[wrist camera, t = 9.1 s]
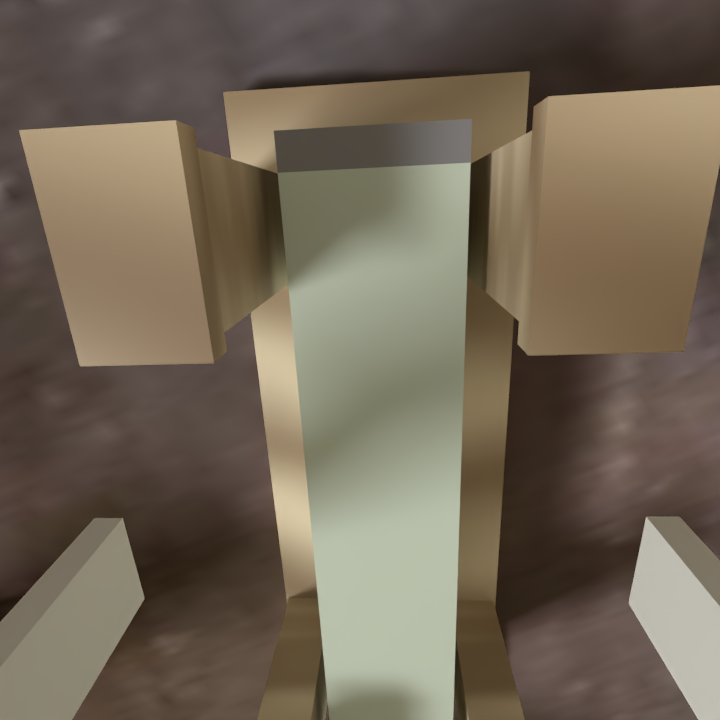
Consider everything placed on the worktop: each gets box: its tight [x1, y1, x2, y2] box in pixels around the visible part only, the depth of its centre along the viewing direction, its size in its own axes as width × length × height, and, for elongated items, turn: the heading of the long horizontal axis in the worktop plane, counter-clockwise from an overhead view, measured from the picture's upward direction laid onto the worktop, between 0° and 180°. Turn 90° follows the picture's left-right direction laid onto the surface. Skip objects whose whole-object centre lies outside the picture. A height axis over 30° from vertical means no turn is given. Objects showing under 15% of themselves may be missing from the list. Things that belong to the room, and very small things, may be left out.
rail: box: [274, 119, 472, 720], centre depth 15 cm, size 22×4×5 cm, turn 3°
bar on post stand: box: [19, 71, 720, 720], centre depth 14 cm, size 25×9×10 cm, turn 3°
